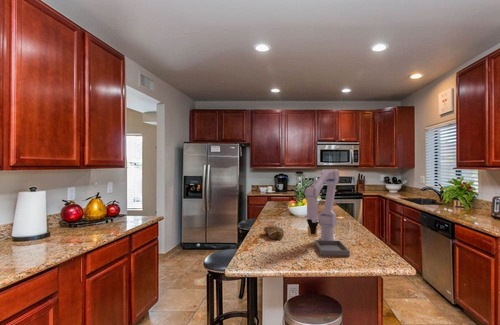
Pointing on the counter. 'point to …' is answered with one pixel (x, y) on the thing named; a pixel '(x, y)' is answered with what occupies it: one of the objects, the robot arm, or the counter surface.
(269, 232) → the brown rounded lump
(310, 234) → the ochre block
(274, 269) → the counter surface
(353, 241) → the counter surface
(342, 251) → the charcoal tray
